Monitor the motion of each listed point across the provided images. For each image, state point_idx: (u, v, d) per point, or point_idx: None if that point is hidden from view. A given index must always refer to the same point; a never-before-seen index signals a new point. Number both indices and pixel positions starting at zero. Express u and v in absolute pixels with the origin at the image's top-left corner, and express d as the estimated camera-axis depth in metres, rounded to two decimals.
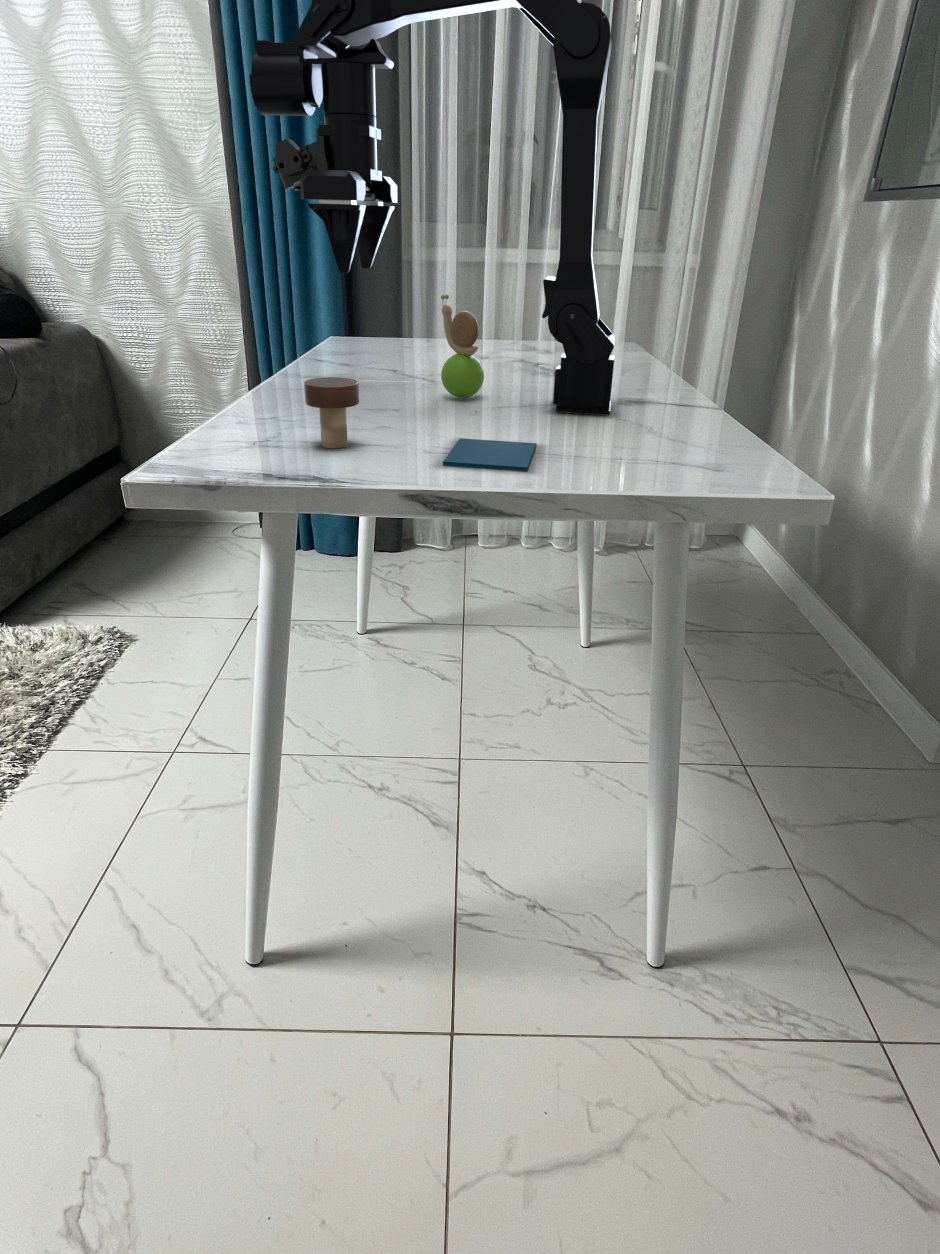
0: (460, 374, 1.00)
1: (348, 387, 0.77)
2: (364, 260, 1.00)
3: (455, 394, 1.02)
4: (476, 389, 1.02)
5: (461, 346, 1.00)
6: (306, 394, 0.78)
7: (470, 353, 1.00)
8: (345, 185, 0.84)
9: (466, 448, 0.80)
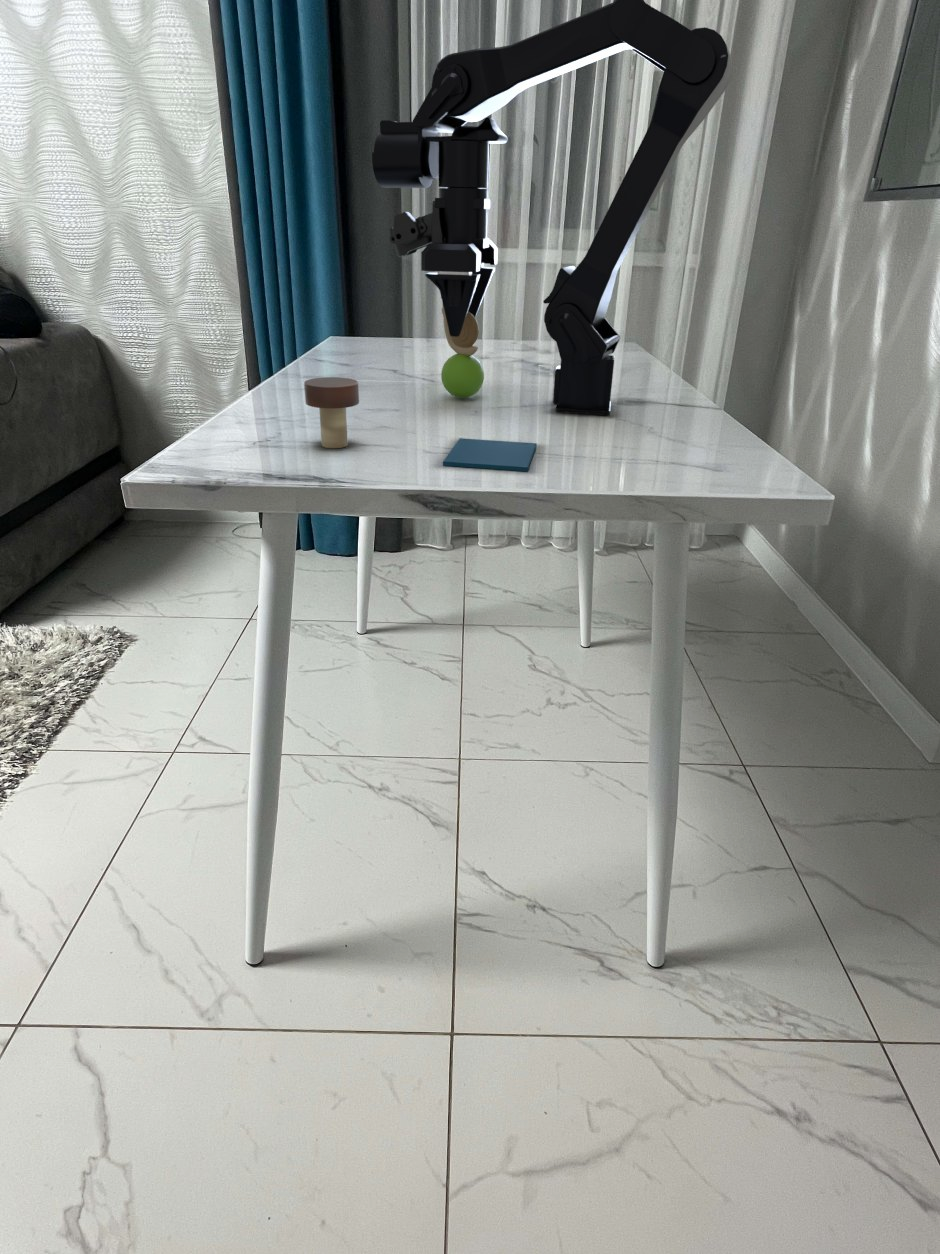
0: (460, 374, 1.00)
1: (348, 387, 0.77)
2: None
3: (455, 394, 1.02)
4: (476, 389, 1.02)
5: (461, 346, 1.00)
6: (306, 394, 0.78)
7: (470, 353, 1.00)
8: (466, 258, 0.88)
9: (466, 448, 0.80)
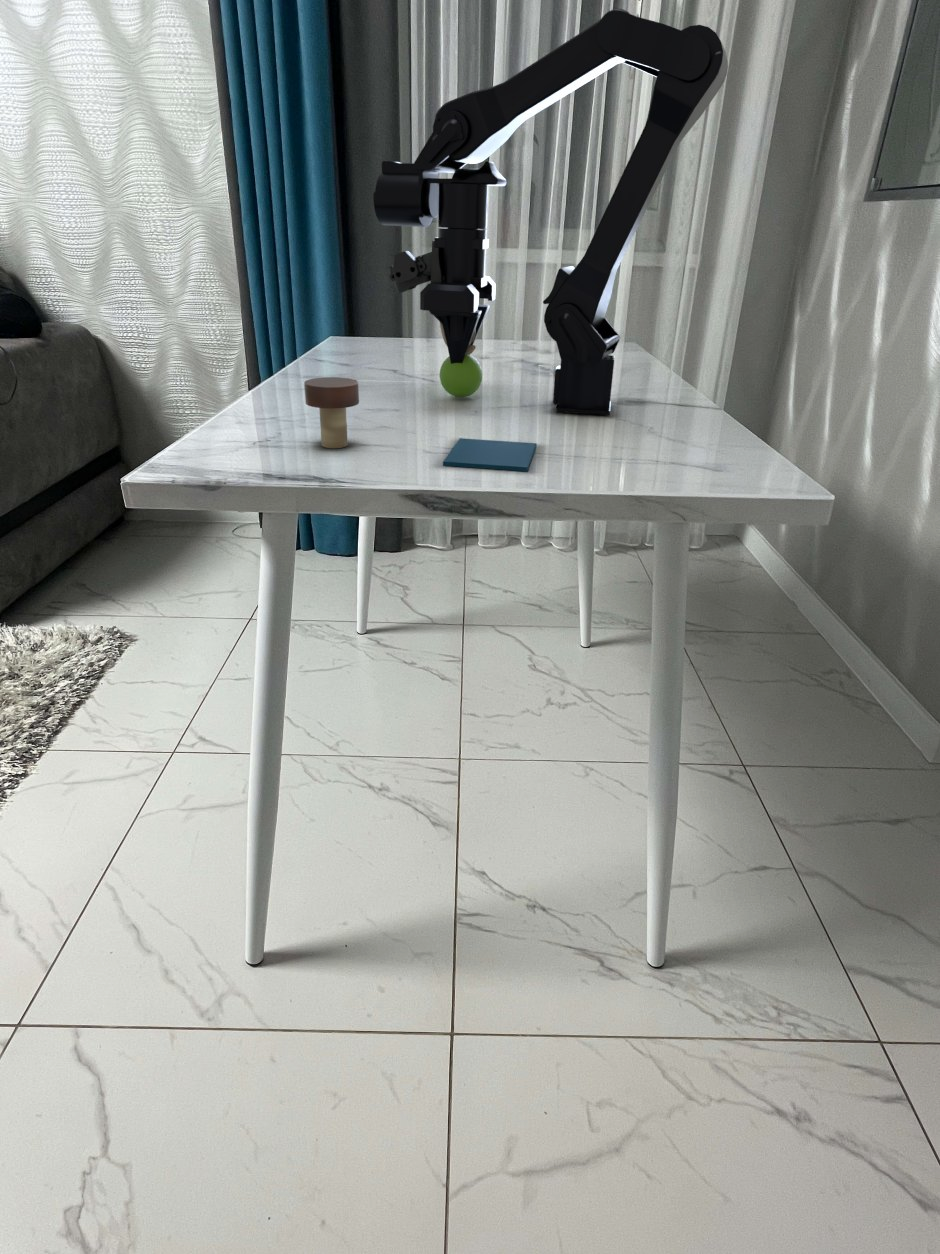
0: (459, 374, 1.00)
1: (348, 387, 0.77)
2: None
3: (454, 394, 1.02)
4: (476, 388, 1.02)
5: None
6: (306, 394, 0.78)
7: (468, 352, 1.00)
8: (464, 299, 0.90)
9: (466, 448, 0.80)
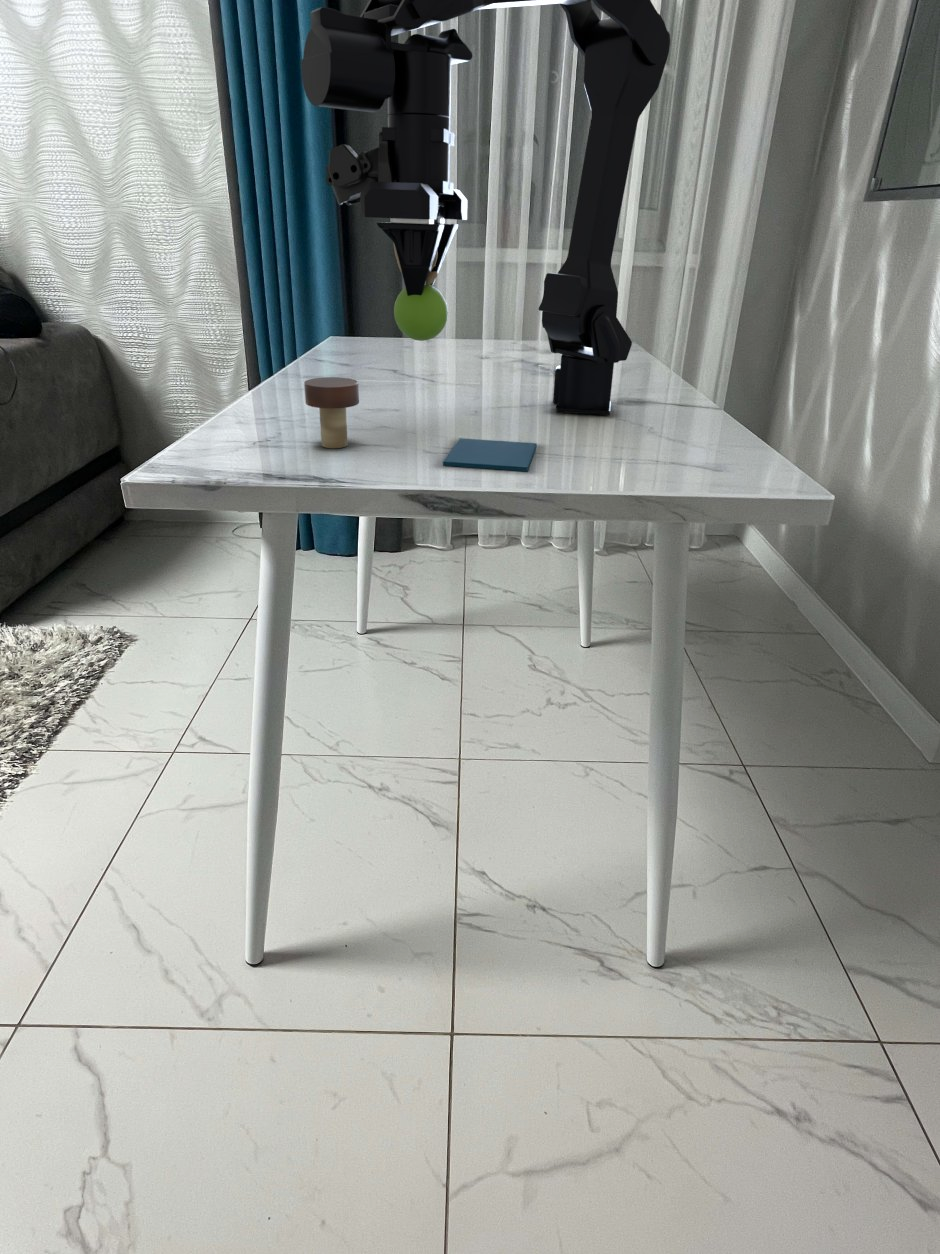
0: (416, 308, 0.79)
1: (348, 387, 0.77)
2: None
3: (412, 335, 0.81)
4: (439, 328, 0.81)
5: None
6: (306, 394, 0.78)
7: (428, 281, 0.79)
8: (416, 201, 0.69)
9: (466, 448, 0.80)
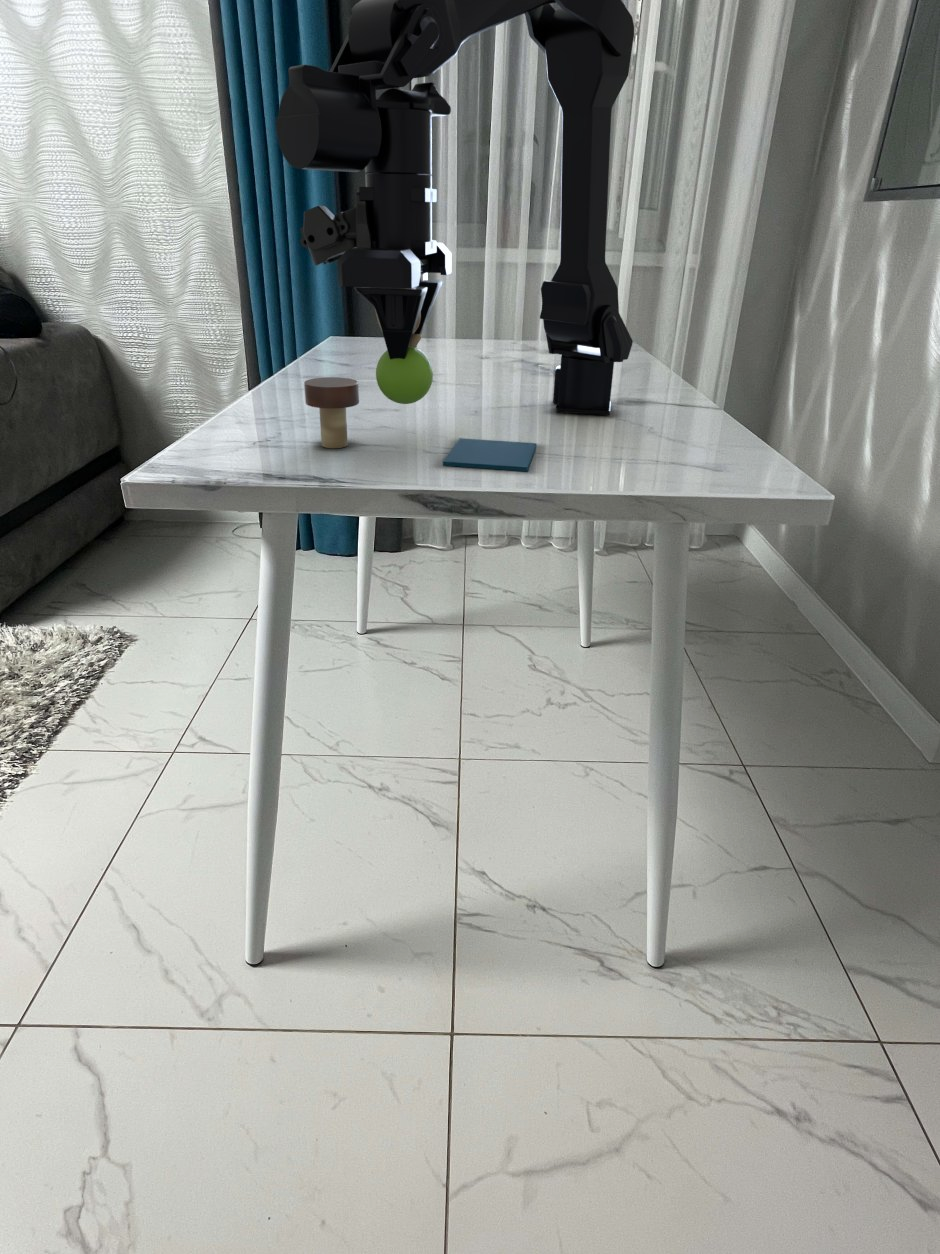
0: (400, 373, 0.75)
1: (348, 387, 0.77)
2: None
3: (396, 400, 0.77)
4: (424, 392, 0.77)
5: None
6: (306, 394, 0.78)
7: (412, 344, 0.75)
8: (397, 270, 0.64)
9: (466, 448, 0.80)
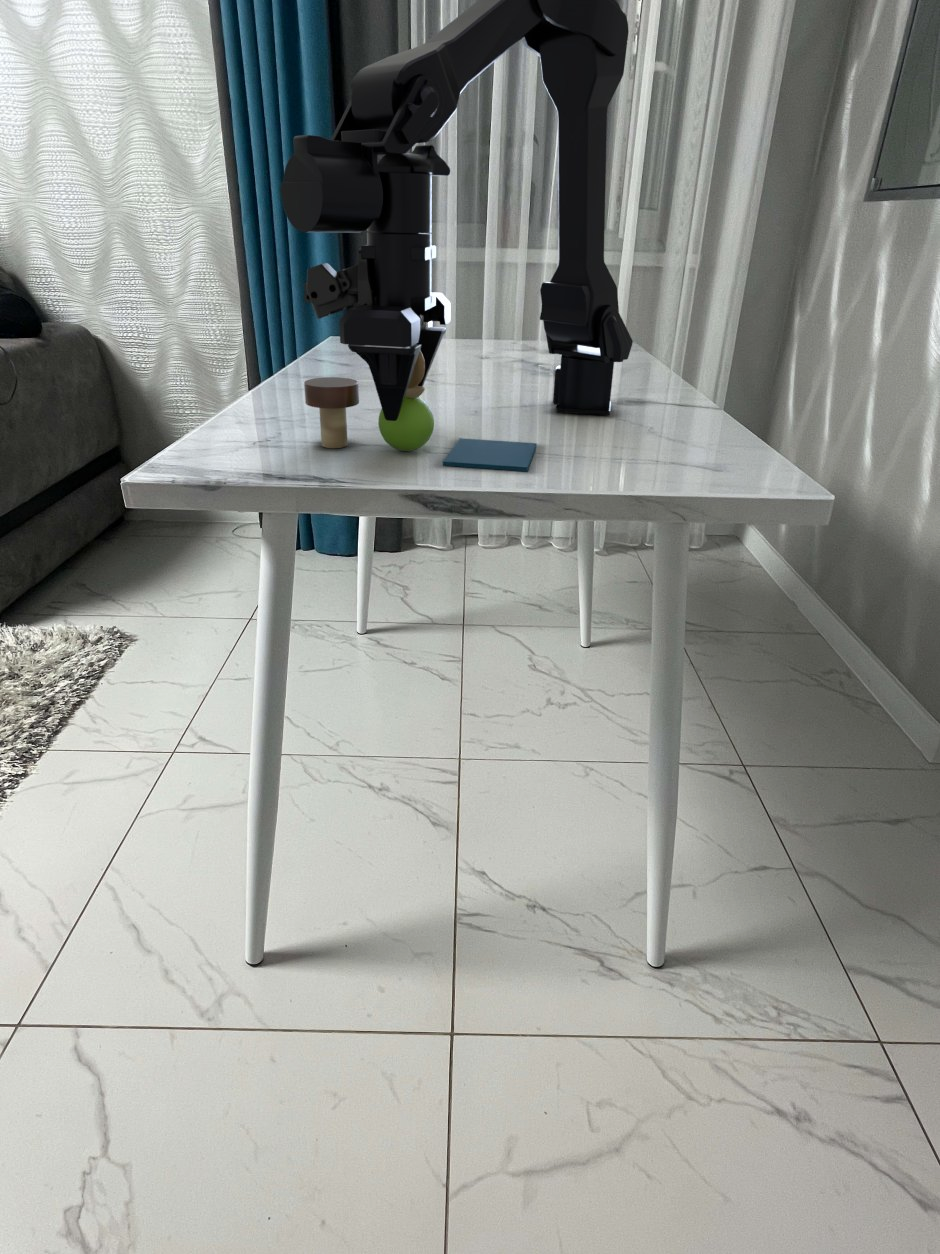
0: (402, 423, 0.77)
1: (348, 387, 0.77)
2: None
3: (397, 447, 0.79)
4: (424, 441, 0.79)
5: None
6: (306, 394, 0.78)
7: (415, 395, 0.77)
8: (397, 329, 0.66)
9: (466, 448, 0.80)
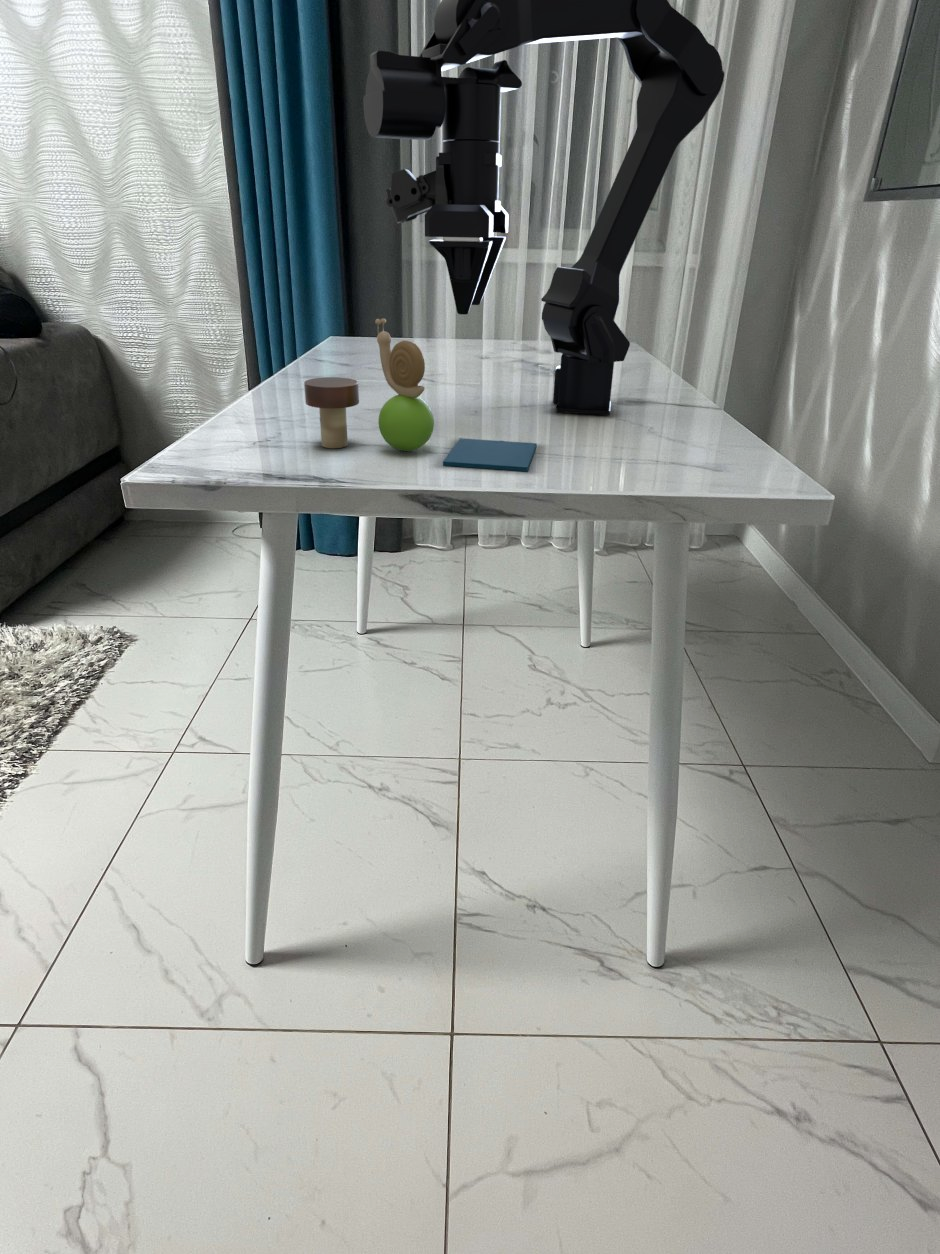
0: (402, 422, 0.77)
1: (348, 387, 0.77)
2: (473, 296, 0.91)
3: (397, 447, 0.79)
4: (424, 440, 0.79)
5: (402, 386, 0.77)
6: (306, 394, 0.78)
7: (415, 395, 0.77)
8: (477, 221, 0.76)
9: (466, 448, 0.80)
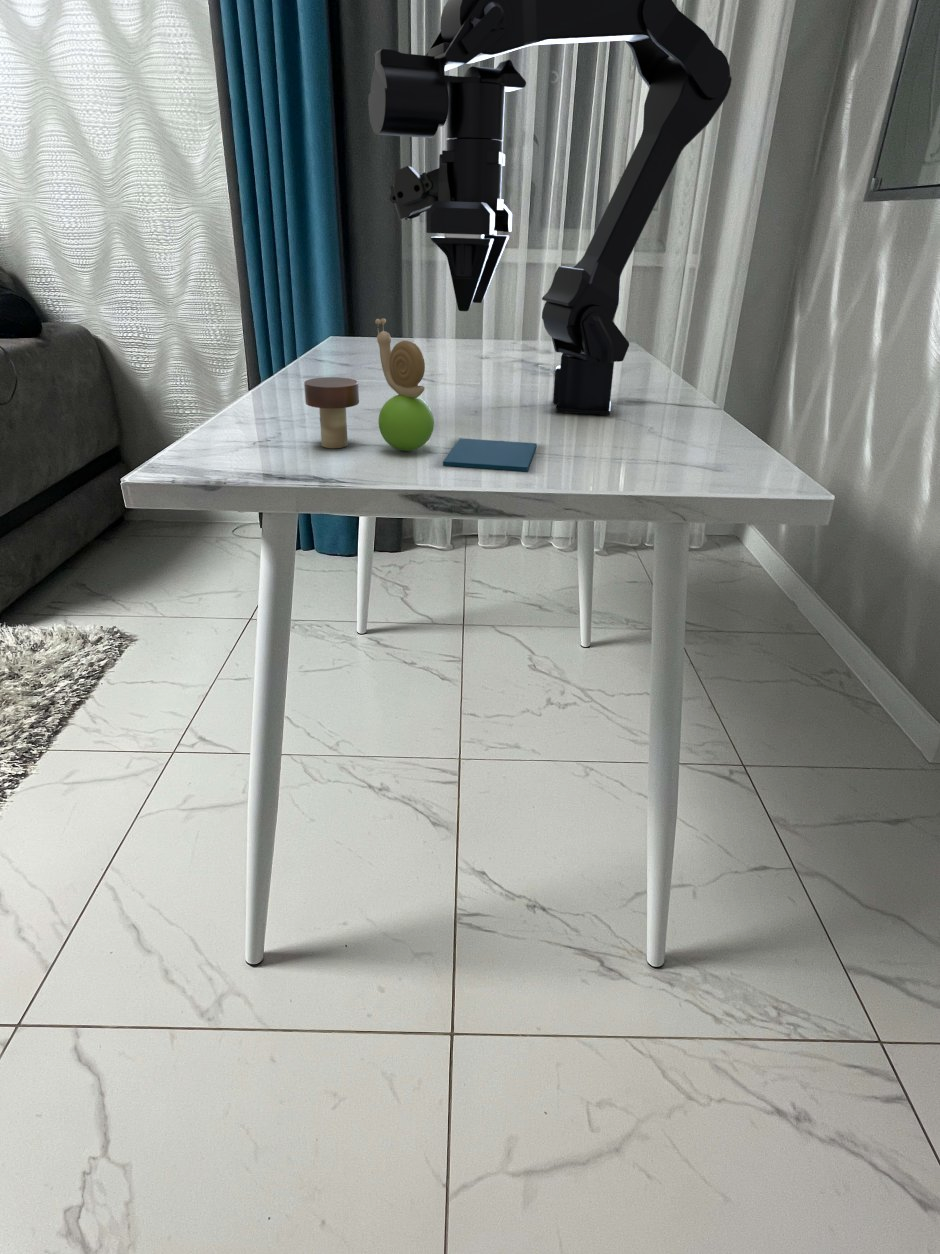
0: (402, 422, 0.77)
1: (348, 387, 0.77)
2: (476, 294, 0.92)
3: (397, 447, 0.79)
4: (424, 440, 0.79)
5: (402, 386, 0.77)
6: (306, 394, 0.78)
7: (415, 395, 0.77)
8: (478, 218, 0.76)
9: (466, 448, 0.80)
